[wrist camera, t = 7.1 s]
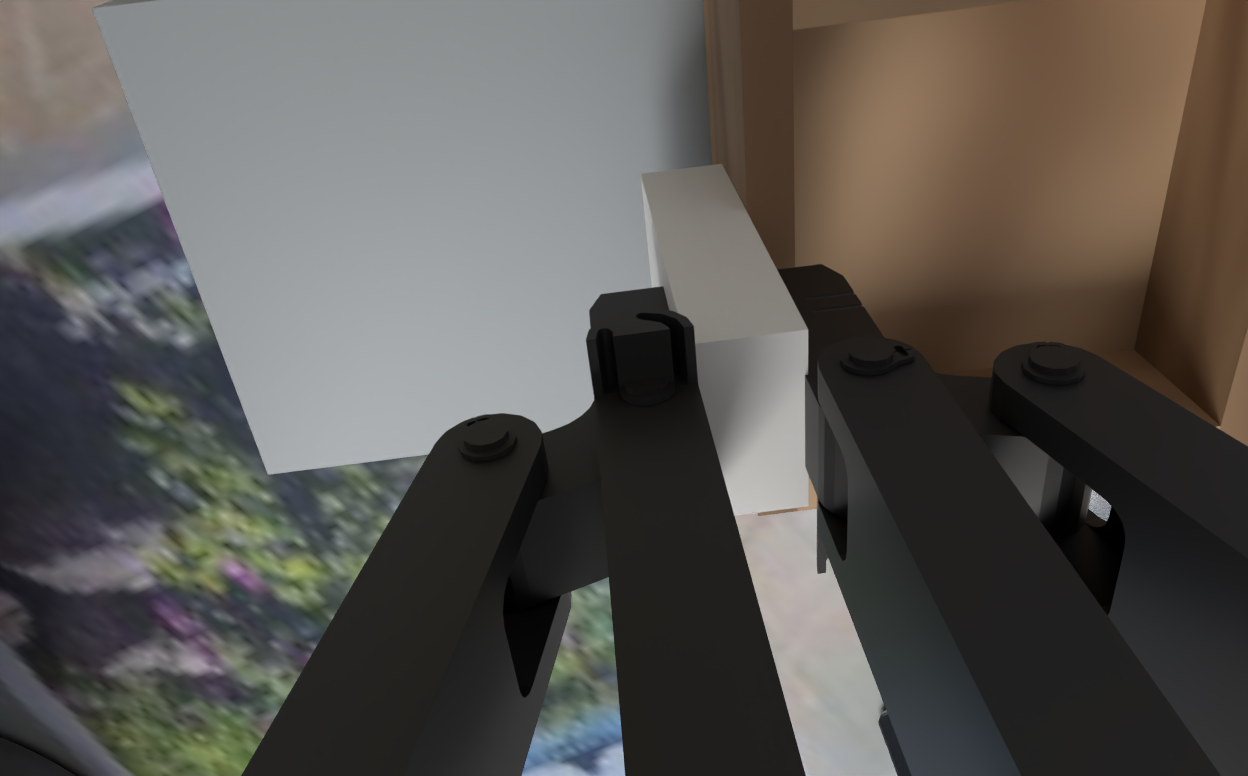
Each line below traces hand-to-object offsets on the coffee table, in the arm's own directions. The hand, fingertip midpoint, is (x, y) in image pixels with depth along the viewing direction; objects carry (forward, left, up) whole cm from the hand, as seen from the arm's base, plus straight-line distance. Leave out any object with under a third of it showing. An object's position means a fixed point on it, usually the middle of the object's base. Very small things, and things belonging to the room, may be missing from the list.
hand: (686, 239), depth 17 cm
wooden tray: (+5, 0, -1) cm, 6 cm away
